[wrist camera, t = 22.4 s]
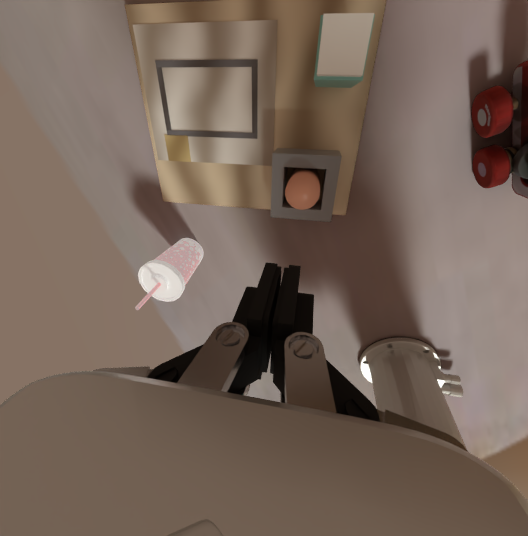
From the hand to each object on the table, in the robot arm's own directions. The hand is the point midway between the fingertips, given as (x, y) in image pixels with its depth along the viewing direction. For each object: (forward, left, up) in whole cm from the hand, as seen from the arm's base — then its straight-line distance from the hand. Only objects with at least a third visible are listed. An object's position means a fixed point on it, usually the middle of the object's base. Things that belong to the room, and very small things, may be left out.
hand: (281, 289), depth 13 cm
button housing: (0, 0, -22) cm, 22 cm away
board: (+7, -6, -23) cm, 25 cm away
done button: (0, 0, -22) cm, 22 cm away
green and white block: (-2, -11, -22) cm, 25 cm away
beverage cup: (+17, +12, -23) cm, 31 cm away
